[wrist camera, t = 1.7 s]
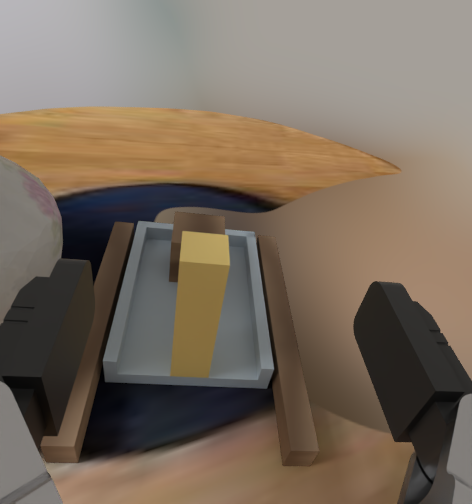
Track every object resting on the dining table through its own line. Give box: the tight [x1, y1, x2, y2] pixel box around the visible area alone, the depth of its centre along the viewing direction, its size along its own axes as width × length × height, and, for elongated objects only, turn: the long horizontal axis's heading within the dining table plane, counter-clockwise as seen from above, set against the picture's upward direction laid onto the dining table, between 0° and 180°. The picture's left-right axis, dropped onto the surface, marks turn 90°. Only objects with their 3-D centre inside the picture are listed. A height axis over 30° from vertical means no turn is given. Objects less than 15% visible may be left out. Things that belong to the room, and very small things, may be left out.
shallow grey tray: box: [103, 221, 274, 389], centre depth 34 cm, size 13×18×13 cm
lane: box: [40, 222, 319, 466], centre depth 35 cm, size 18×24×2 cm
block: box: [169, 212, 225, 282], centre depth 39 cm, size 5×5×5 cm
